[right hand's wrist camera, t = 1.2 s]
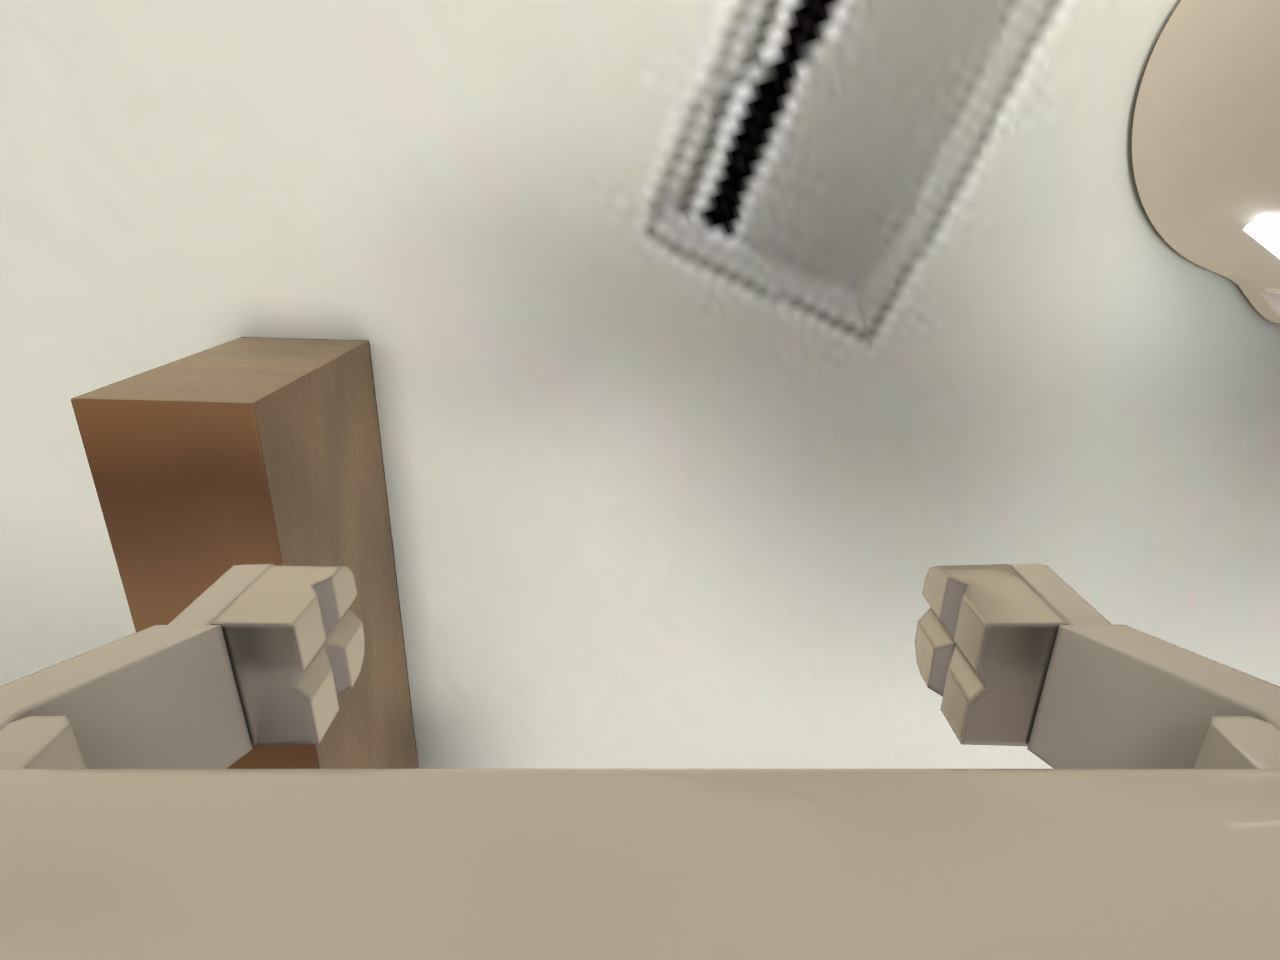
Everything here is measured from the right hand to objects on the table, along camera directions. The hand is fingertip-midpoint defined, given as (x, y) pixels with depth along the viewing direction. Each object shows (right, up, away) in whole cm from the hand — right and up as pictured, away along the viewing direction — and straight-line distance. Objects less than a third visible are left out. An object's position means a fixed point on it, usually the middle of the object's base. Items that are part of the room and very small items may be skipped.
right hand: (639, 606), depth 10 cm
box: (-16, -4, +29) cm, 33 cm away
